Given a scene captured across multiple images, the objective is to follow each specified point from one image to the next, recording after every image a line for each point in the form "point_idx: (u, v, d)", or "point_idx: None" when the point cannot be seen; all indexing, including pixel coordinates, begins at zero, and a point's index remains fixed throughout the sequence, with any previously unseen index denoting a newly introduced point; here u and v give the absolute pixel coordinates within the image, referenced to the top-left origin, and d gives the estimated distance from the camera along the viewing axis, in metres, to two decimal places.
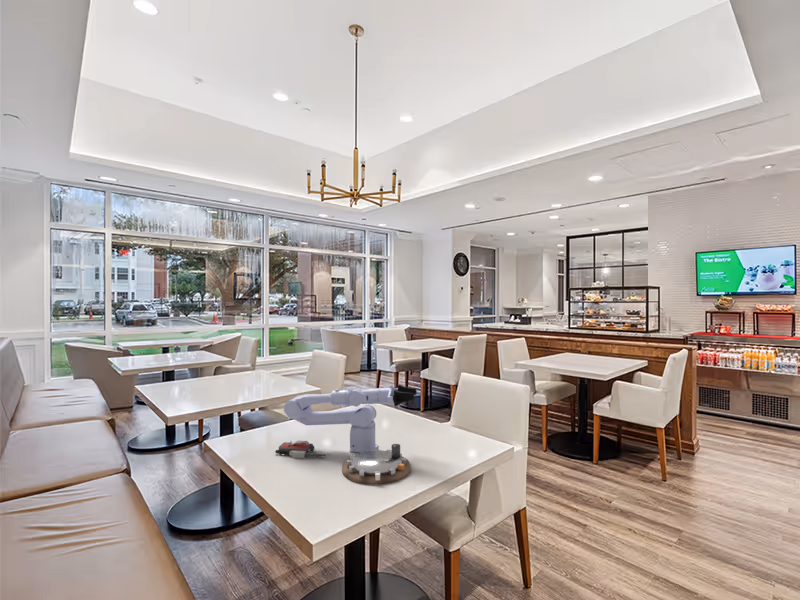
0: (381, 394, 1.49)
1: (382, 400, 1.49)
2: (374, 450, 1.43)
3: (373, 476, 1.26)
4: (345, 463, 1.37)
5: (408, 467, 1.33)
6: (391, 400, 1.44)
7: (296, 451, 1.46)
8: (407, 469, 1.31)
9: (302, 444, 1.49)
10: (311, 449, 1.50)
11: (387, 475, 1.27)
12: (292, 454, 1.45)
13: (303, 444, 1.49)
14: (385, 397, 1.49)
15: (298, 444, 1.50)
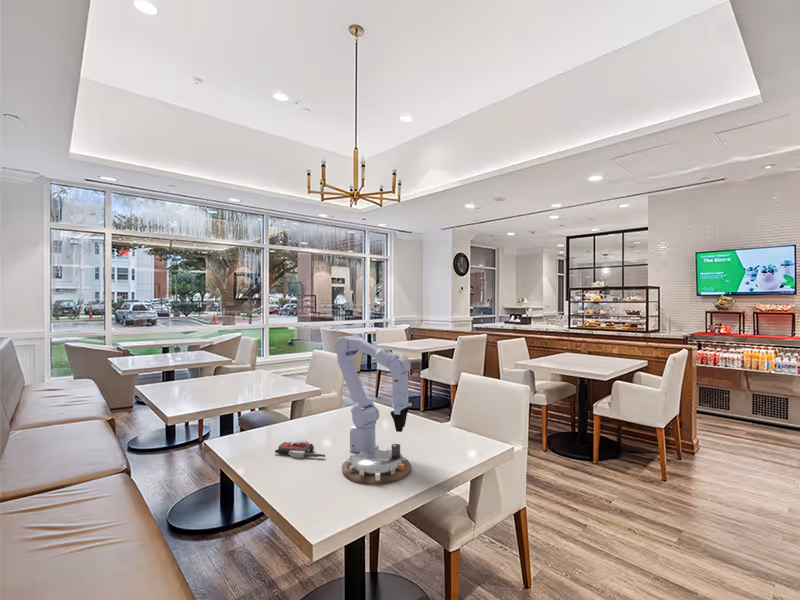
0: (402, 396, 1.41)
1: (395, 396, 1.42)
2: (374, 450, 1.43)
3: (373, 476, 1.26)
4: (345, 463, 1.37)
5: (408, 467, 1.33)
6: (395, 413, 1.37)
7: (295, 451, 1.46)
8: (407, 469, 1.31)
9: (301, 444, 1.49)
10: (310, 449, 1.49)
11: (387, 475, 1.27)
12: (292, 454, 1.45)
13: (302, 444, 1.49)
14: (398, 400, 1.41)
15: (298, 444, 1.50)
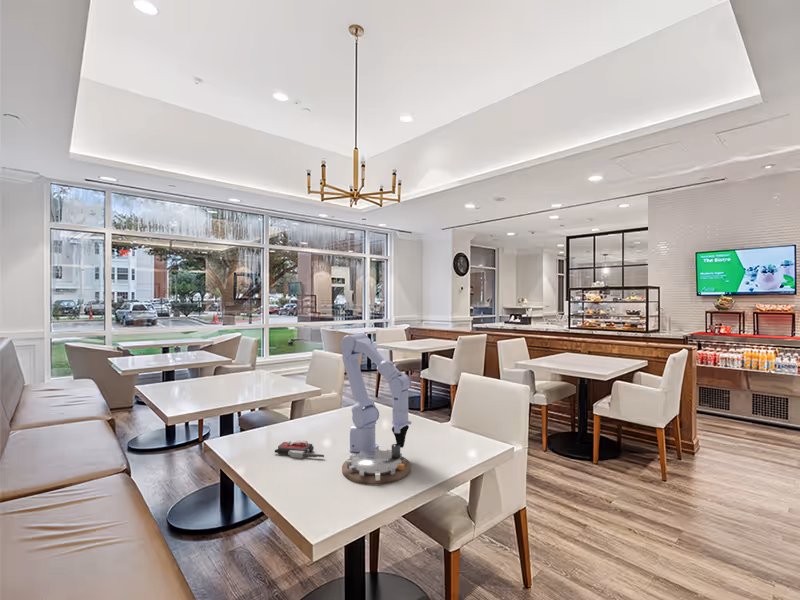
0: (402, 414, 1.41)
1: (395, 415, 1.42)
2: (374, 450, 1.43)
3: (373, 476, 1.26)
4: (345, 463, 1.37)
5: (408, 467, 1.33)
6: (395, 431, 1.37)
7: (295, 451, 1.46)
8: (407, 469, 1.31)
9: (301, 444, 1.49)
10: (310, 449, 1.49)
11: (387, 475, 1.27)
12: (291, 454, 1.45)
13: (302, 444, 1.48)
14: (398, 419, 1.41)
15: (298, 444, 1.50)
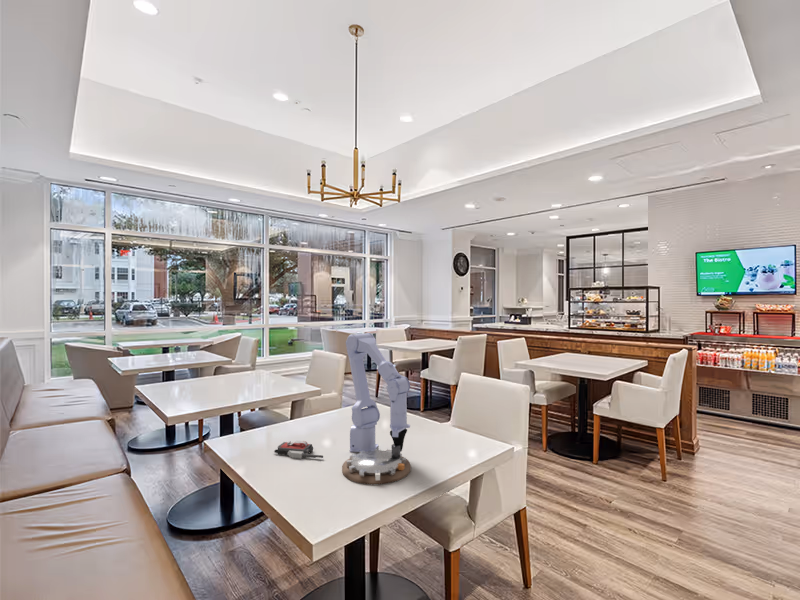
0: (400, 418, 1.37)
1: (393, 418, 1.38)
2: (374, 450, 1.43)
3: (373, 476, 1.26)
4: (345, 463, 1.37)
5: (408, 467, 1.33)
6: (393, 435, 1.33)
7: (294, 451, 1.46)
8: (407, 469, 1.31)
9: (301, 444, 1.48)
10: (310, 450, 1.49)
11: (387, 475, 1.27)
12: (290, 454, 1.45)
13: (301, 444, 1.48)
14: (396, 422, 1.37)
15: (297, 444, 1.50)
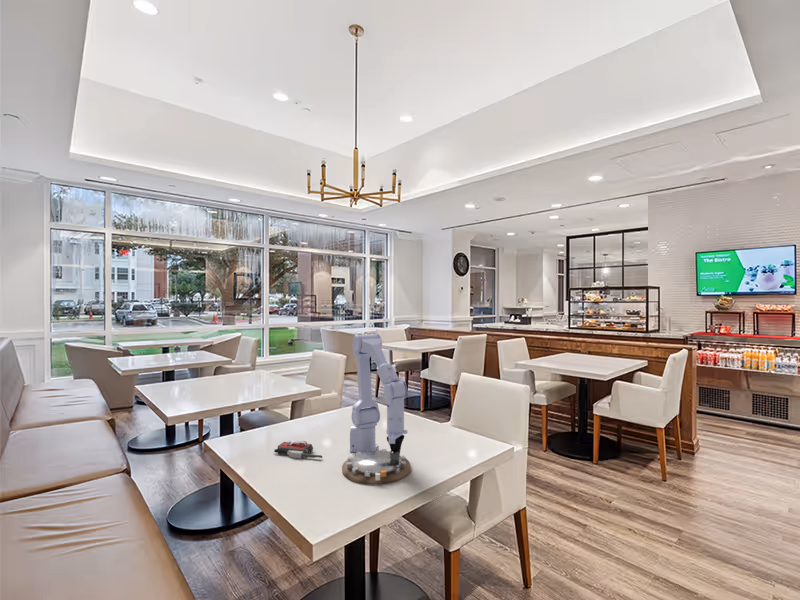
0: (397, 423, 1.31)
1: (390, 423, 1.32)
2: None
3: (373, 476, 1.26)
4: (345, 463, 1.37)
5: (408, 467, 1.33)
6: (390, 442, 1.27)
7: (294, 451, 1.46)
8: (407, 469, 1.31)
9: (300, 444, 1.48)
10: (309, 449, 1.49)
11: (387, 475, 1.27)
12: (290, 454, 1.45)
13: (301, 444, 1.48)
14: (393, 428, 1.31)
15: (297, 444, 1.50)
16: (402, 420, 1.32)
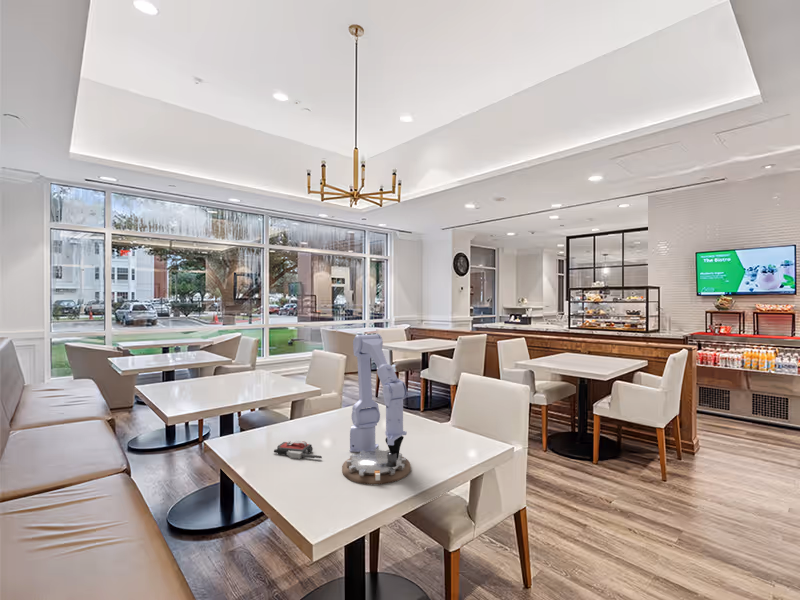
0: (396, 424, 1.30)
1: (389, 425, 1.31)
2: None
3: (373, 476, 1.26)
4: (345, 463, 1.37)
5: (408, 467, 1.33)
6: (389, 443, 1.26)
7: (293, 451, 1.46)
8: (407, 469, 1.31)
9: (300, 444, 1.48)
10: (309, 450, 1.49)
11: (387, 475, 1.27)
12: (289, 454, 1.45)
13: (301, 444, 1.48)
14: (392, 429, 1.30)
15: (297, 444, 1.50)
16: (401, 421, 1.31)
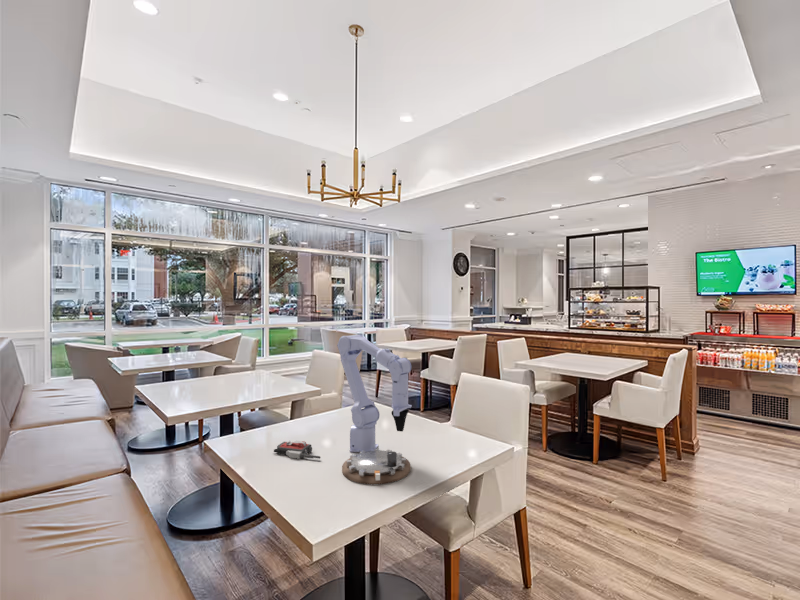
0: (401, 398, 1.40)
1: (395, 398, 1.40)
2: None
3: (373, 476, 1.26)
4: (345, 463, 1.37)
5: (408, 467, 1.33)
6: (395, 414, 1.36)
7: (292, 451, 1.46)
8: (407, 469, 1.31)
9: (299, 444, 1.48)
10: (308, 450, 1.49)
11: (387, 475, 1.27)
12: (289, 454, 1.45)
13: (300, 444, 1.48)
14: (398, 402, 1.40)
15: (296, 444, 1.50)
16: (406, 395, 1.41)
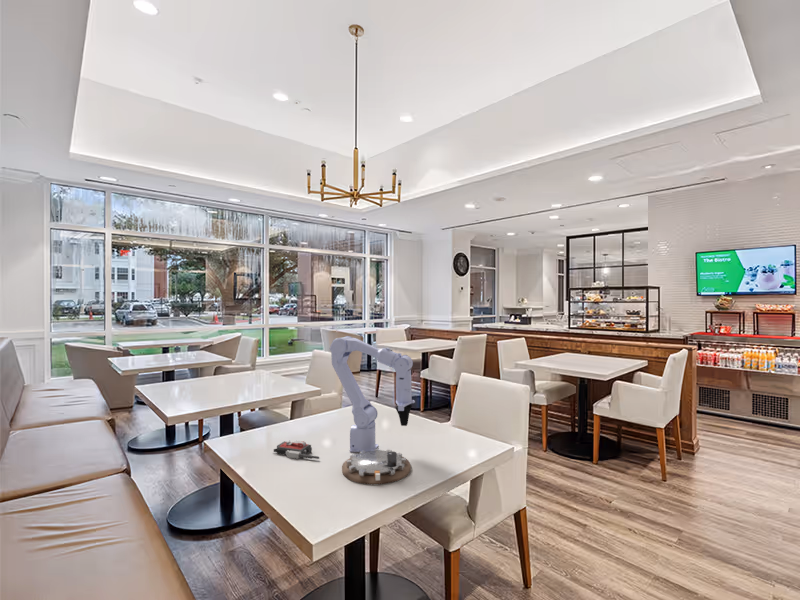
0: (405, 393, 1.46)
1: (399, 394, 1.46)
2: None
3: (373, 476, 1.26)
4: (345, 463, 1.37)
5: (408, 467, 1.33)
6: (399, 409, 1.41)
7: (292, 451, 1.46)
8: (407, 469, 1.31)
9: (299, 444, 1.48)
10: (308, 450, 1.49)
11: (387, 475, 1.27)
12: (288, 454, 1.45)
13: (300, 444, 1.48)
14: (402, 397, 1.46)
15: (296, 444, 1.50)
16: (410, 391, 1.47)
